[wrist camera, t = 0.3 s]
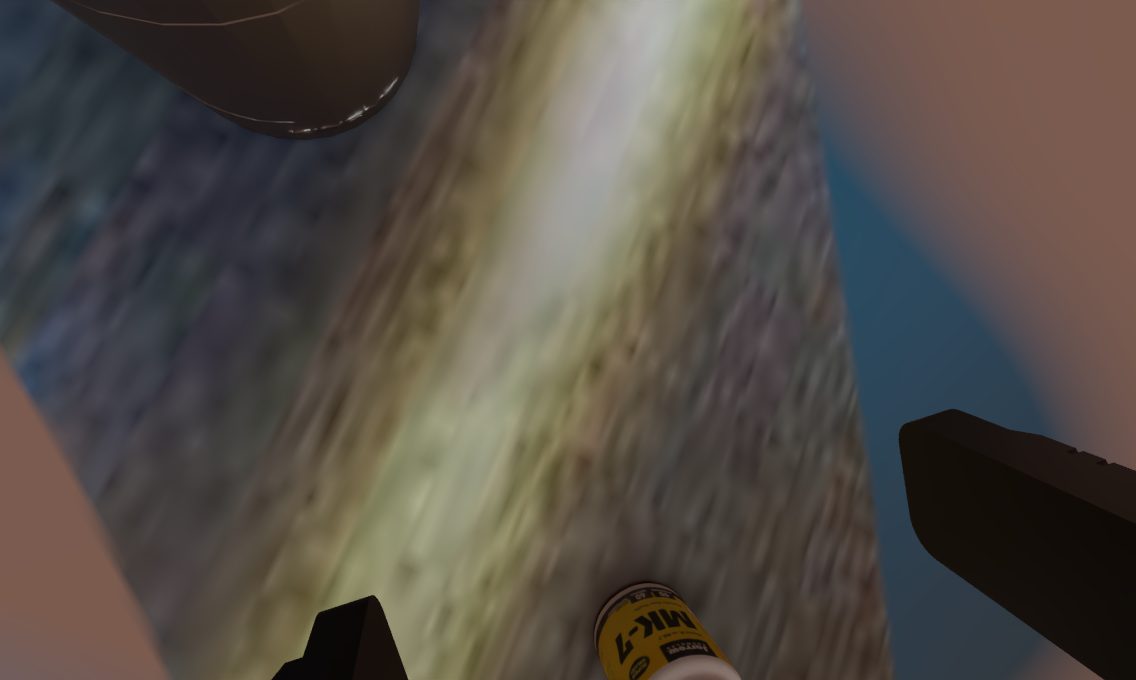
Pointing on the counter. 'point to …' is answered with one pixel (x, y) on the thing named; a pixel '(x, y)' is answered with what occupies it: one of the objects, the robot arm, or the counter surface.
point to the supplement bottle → (656, 639)
